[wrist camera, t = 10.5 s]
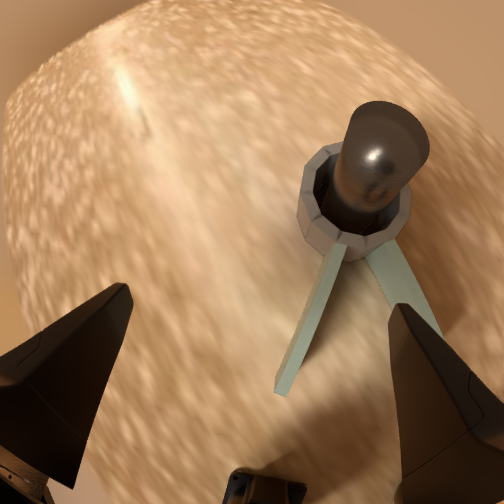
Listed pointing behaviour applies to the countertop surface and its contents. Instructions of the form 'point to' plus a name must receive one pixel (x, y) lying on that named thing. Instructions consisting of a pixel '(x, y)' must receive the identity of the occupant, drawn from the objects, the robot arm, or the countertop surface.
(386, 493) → the countertop surface
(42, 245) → the countertop surface
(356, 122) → the hinge pin
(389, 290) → the grey forked piece
